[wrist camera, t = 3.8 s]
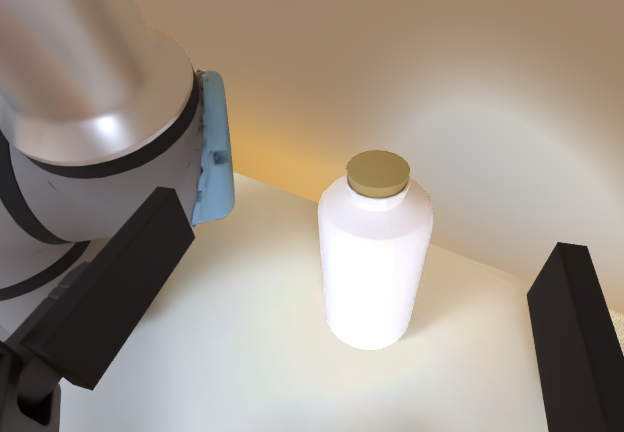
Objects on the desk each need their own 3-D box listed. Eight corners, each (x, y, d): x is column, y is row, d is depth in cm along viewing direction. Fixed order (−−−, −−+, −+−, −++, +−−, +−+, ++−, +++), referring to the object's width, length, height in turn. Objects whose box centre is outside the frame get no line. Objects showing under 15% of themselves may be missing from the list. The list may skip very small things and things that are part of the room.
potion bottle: (328, 276, 40) (320, 132, 27) (406, 281, 39) (436, 133, 26) (320, 350, 34) (306, 209, 21) (412, 358, 33) (454, 215, 20)
